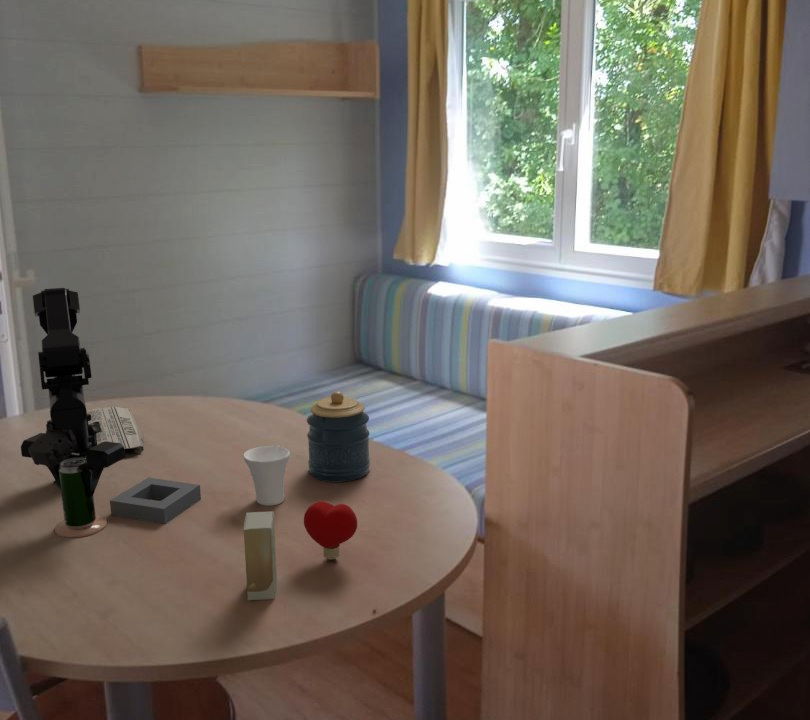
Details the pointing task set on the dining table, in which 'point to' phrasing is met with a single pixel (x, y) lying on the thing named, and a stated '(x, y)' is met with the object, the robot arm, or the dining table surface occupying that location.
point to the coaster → (72, 533)
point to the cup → (268, 472)
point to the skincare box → (260, 555)
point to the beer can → (75, 495)
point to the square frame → (143, 508)
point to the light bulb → (330, 526)
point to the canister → (338, 439)
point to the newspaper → (116, 427)
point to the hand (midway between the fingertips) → (77, 494)
